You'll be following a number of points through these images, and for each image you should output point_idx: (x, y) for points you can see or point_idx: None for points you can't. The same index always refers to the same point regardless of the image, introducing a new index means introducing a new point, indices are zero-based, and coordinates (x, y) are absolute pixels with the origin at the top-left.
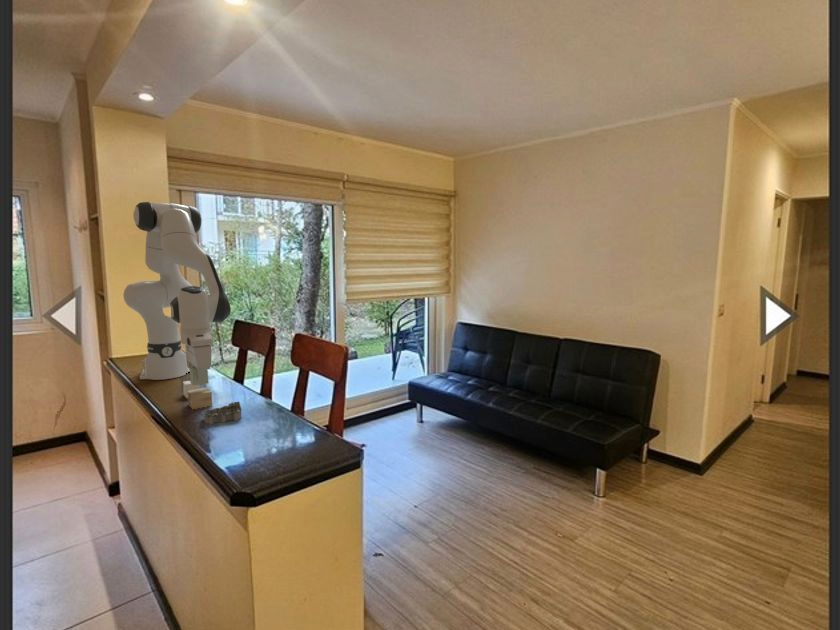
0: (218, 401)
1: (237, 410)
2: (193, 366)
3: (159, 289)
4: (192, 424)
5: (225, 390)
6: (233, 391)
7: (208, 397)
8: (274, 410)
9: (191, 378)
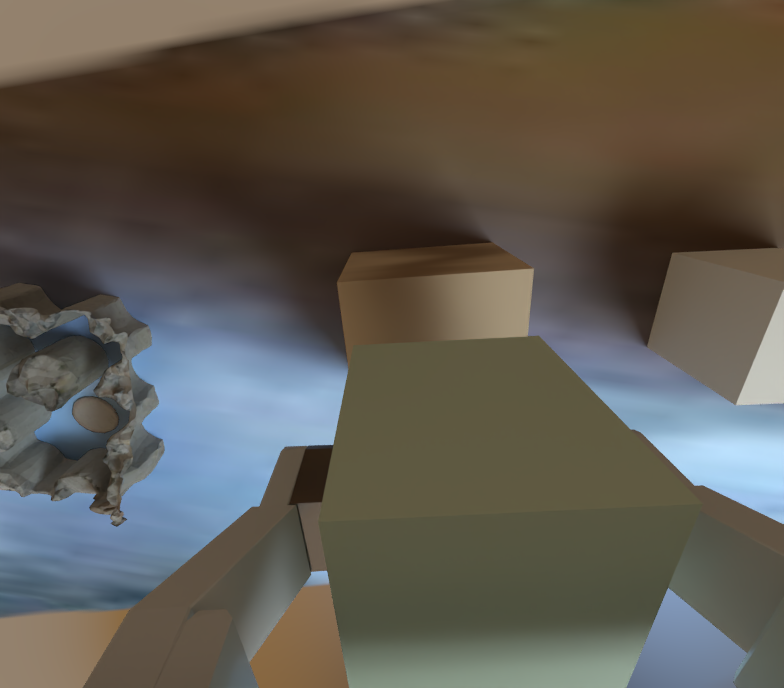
0: None
1: (64, 478)
2: (779, 573)
3: None
4: (12, 204)
5: None
6: None
7: None
8: (140, 580)
9: (461, 379)
